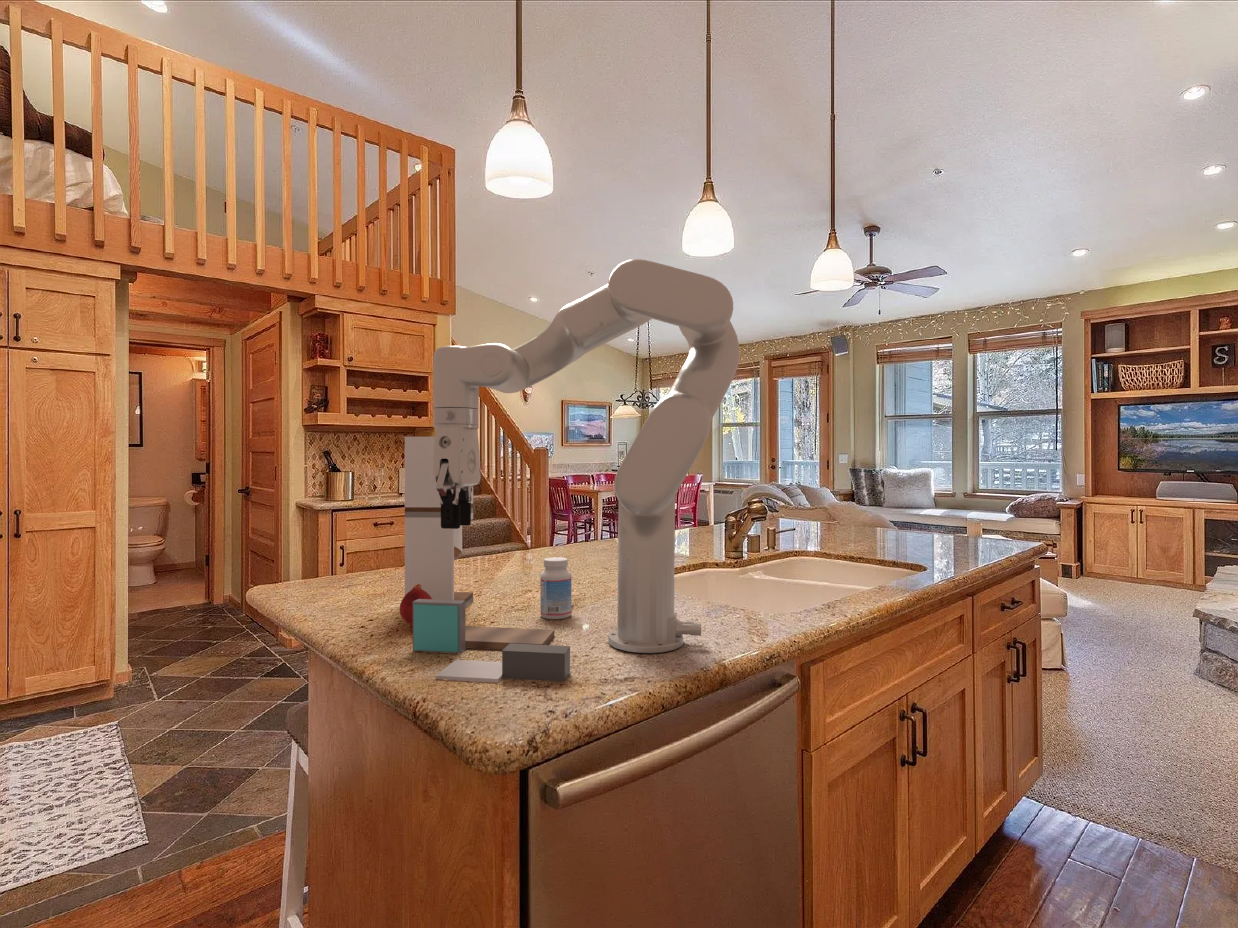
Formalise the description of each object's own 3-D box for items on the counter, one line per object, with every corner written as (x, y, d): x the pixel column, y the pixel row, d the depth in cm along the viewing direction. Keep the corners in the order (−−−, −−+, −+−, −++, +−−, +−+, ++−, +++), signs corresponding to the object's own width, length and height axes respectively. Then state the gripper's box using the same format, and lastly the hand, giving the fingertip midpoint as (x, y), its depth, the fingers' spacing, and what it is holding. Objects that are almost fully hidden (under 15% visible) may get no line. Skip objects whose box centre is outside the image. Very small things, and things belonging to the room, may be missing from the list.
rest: (554, 636, 110) (554, 629, 110) (541, 651, 101) (541, 644, 101) (455, 632, 112) (455, 625, 112) (434, 646, 104) (434, 639, 104)
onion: (423, 633, 111) (423, 587, 111) (393, 631, 113) (393, 586, 112) (439, 624, 117) (439, 581, 117) (410, 622, 118) (410, 580, 118)
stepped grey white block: (572, 669, 93) (572, 642, 93) (561, 686, 86) (561, 657, 86) (455, 663, 96) (455, 637, 96) (436, 679, 89) (436, 651, 89)
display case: (458, 615, 124) (458, 436, 124) (404, 614, 124) (404, 436, 124) (473, 601, 136) (473, 438, 135) (423, 601, 136) (423, 438, 135)
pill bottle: (577, 615, 125) (577, 558, 124) (558, 621, 119) (558, 562, 119) (553, 610, 128) (553, 555, 128) (533, 617, 123) (533, 559, 123)
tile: (465, 649, 102) (465, 600, 102) (459, 654, 100) (459, 603, 100) (418, 647, 103) (418, 598, 103) (411, 652, 101) (411, 602, 101)
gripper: (458, 416, 99) (458, 533, 100) (493, 422, 116) (493, 522, 116) (413, 417, 100) (413, 532, 101) (454, 422, 117) (454, 521, 117)
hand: (456, 525), depth 108 cm, fingers open, 4 cm apart
